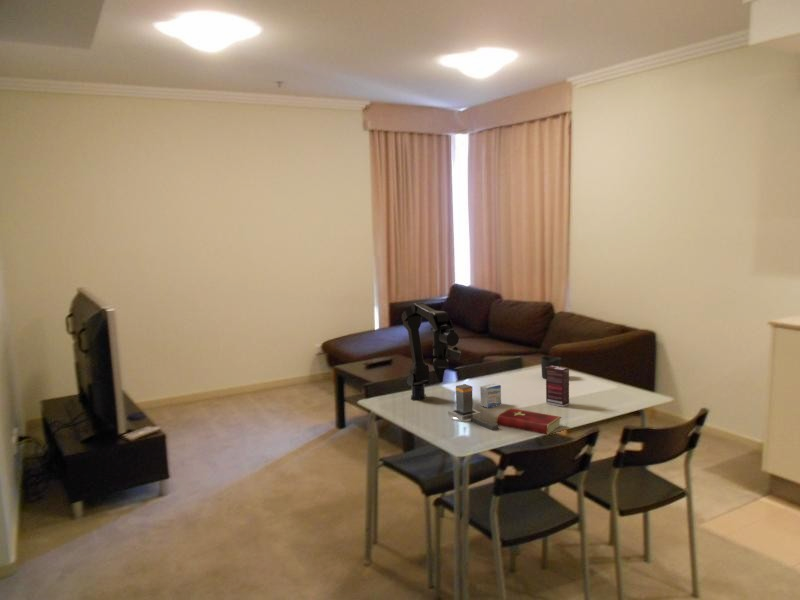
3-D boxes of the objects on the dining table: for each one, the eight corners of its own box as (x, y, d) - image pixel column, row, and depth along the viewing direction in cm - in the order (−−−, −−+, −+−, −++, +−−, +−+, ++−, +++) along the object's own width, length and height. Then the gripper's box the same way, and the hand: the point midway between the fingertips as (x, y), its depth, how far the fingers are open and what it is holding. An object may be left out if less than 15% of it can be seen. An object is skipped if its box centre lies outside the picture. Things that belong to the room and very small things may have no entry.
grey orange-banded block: (456, 414, 244) (455, 385, 242) (465, 412, 246) (465, 384, 245) (463, 417, 240) (463, 388, 238) (472, 415, 242) (472, 386, 241)
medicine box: (487, 408, 253) (487, 388, 252) (480, 405, 257) (480, 386, 256) (501, 404, 258) (501, 384, 257) (494, 402, 261) (494, 382, 260)
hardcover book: (548, 436, 220) (548, 424, 219) (496, 425, 232) (496, 415, 232) (561, 426, 229) (561, 416, 229) (510, 417, 242) (510, 407, 241)
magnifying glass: (443, 415, 245) (443, 410, 245) (467, 410, 251) (467, 405, 251) (483, 432, 224) (482, 427, 224) (507, 426, 230) (507, 421, 230)
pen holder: (550, 381, 293) (550, 361, 292) (537, 377, 301) (537, 357, 300) (564, 378, 297) (564, 358, 296) (551, 374, 306) (551, 355, 304)
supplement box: (569, 404, 255) (569, 367, 253) (563, 407, 251) (563, 370, 249) (551, 401, 261) (551, 364, 259) (545, 403, 257) (545, 367, 255)
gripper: (460, 346, 240) (461, 384, 242) (458, 337, 259) (459, 373, 261) (432, 347, 241) (433, 385, 243) (432, 338, 259) (433, 373, 261)
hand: (440, 379), depth 252 cm, fingers open, 9 cm apart
